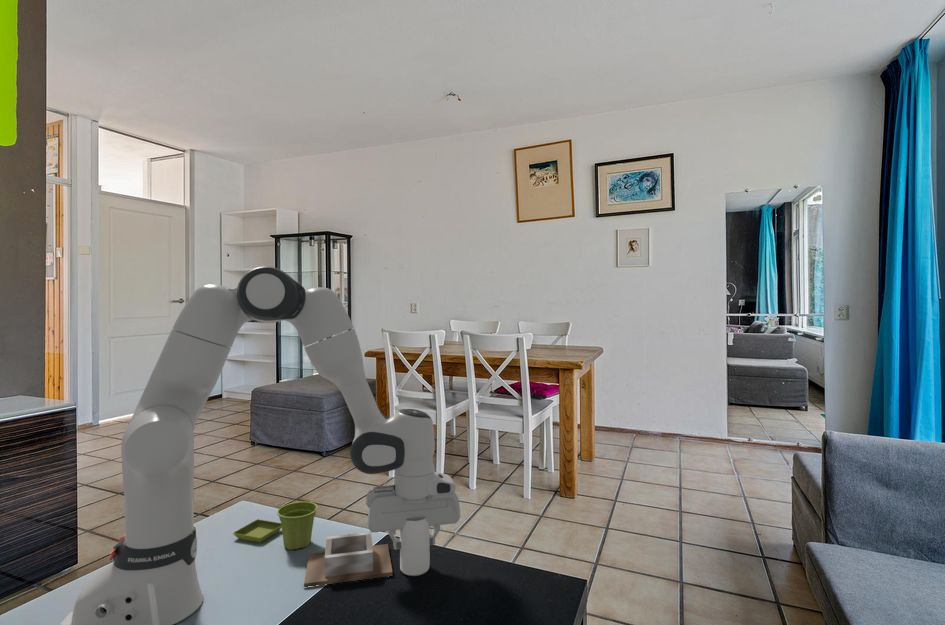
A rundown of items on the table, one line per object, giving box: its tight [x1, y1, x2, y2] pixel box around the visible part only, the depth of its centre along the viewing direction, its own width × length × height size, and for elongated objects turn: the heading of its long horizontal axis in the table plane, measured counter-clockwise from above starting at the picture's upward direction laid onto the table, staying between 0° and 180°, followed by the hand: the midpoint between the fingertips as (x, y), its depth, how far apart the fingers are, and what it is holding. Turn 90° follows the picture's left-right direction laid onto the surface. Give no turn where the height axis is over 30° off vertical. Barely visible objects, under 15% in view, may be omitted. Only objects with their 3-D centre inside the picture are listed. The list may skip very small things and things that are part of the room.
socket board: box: [303, 531, 393, 588], centre depth 109 cm, size 18×13×6 cm
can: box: [399, 517, 431, 577], centre depth 108 cm, size 6×6×12 cm
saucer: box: [232, 519, 282, 543], centre depth 124 cm, size 9×9×2 cm
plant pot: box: [276, 501, 319, 550], centre depth 119 cm, size 9×9×9 cm
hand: (414, 546), depth 108 cm, fingers closed on can, 6 cm apart
